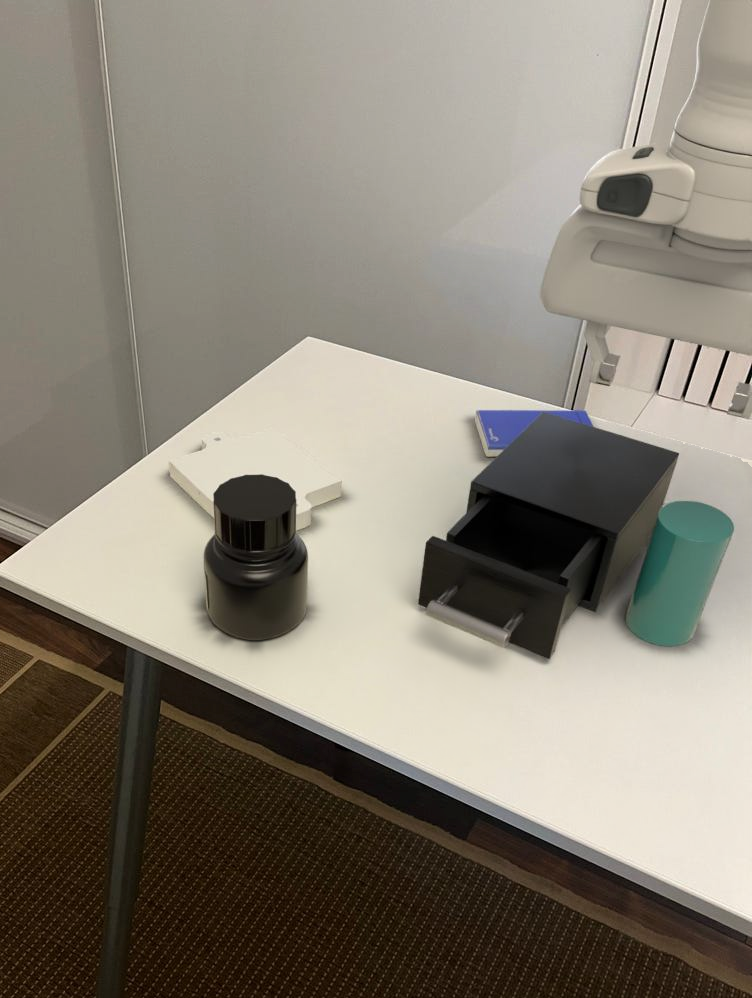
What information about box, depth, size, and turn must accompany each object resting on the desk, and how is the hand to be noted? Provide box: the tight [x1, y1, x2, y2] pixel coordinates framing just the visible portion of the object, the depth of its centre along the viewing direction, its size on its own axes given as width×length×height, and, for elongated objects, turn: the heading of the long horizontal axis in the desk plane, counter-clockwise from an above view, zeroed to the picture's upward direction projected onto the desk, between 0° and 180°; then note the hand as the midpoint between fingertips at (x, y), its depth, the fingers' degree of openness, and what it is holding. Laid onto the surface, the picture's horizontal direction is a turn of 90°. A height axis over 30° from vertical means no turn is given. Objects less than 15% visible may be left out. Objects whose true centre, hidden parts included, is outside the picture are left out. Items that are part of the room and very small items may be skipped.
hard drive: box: [474, 409, 594, 458], centre depth 108 cm, size 2×8×12 cm
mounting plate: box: [168, 426, 343, 532], centre depth 101 cm, size 18×13×2 cm
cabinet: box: [465, 412, 680, 613], centre depth 91 cm, size 16×14×9 cm
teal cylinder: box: [625, 500, 735, 647], centre depth 82 cm, size 6×6×11 cm
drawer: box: [417, 494, 607, 660], centre depth 84 cm, size 19×12×7 cm, turn 145°
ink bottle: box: [203, 474, 309, 641], centre depth 83 cm, size 10×9×12 cm
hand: (668, 397), depth 68 cm, fingers open, 8 cm apart
